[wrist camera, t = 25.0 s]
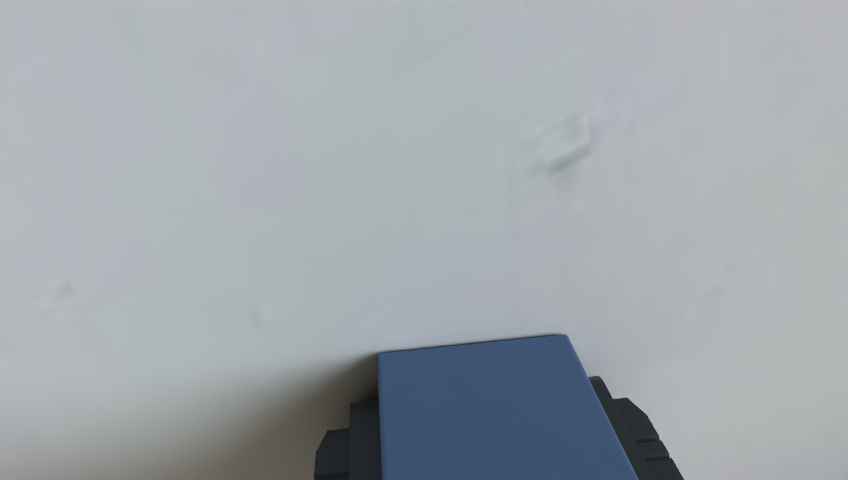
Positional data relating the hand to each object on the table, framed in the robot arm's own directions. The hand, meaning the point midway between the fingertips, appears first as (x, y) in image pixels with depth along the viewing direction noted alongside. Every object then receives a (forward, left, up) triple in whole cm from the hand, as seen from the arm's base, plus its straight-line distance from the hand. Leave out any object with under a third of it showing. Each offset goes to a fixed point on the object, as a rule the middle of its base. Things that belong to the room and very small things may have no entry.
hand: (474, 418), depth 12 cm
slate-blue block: (0, 0, 0) cm, 0 cm away
